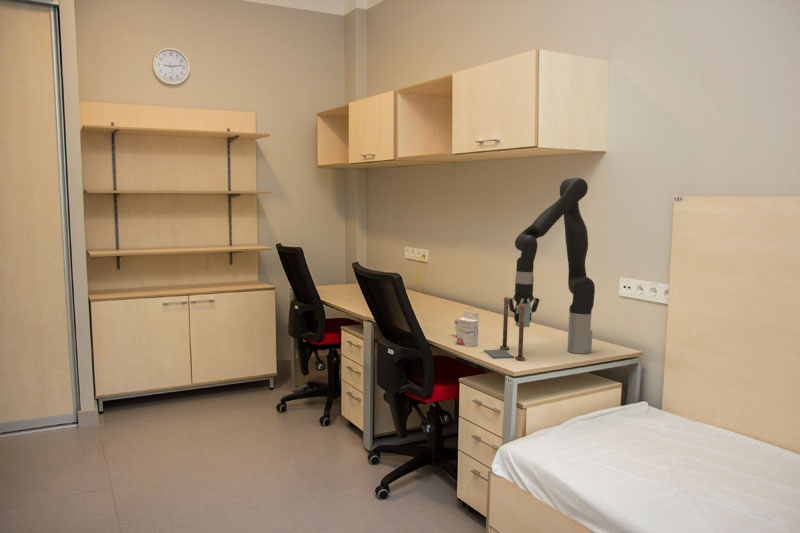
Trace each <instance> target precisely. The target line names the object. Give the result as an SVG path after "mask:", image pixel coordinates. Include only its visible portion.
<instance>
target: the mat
mask: <svg viewBox="0 0 800 533" xmlns="http://www.w3.org/2000/svg"><path fill="white" fill-rule="evenodd" d="M483 352H484V353H485V354H487V355H488V356H489V357H491V358H492V359H515V356H514V355H513V354H511V353H510V352H508V350H504V349H503V350H501V349H483Z"/></svg>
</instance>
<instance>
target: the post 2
mask: <svg viewBox="0 0 800 533" xmlns="http://www.w3.org/2000/svg"><path fill="white" fill-rule="evenodd" d="M519 308H520V319H519V327H518V346H517V347H518V348H517V355H516V356H514V360H515V361H517V362H525V361H526V357H525V356H523V355H524V354H523V353H524V351H523V350H524V348H523V347H524V329H525V327H524V309H525V305H524V304H520V306H519Z"/></svg>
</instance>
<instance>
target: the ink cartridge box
mask: <svg viewBox="0 0 800 533" xmlns="http://www.w3.org/2000/svg"><path fill="white" fill-rule="evenodd" d="M457 319H458V328H457V333H456V344H457V345H461V346H466V347H470V348H472V347H476V346H478V342H479V313H478V312H473V311H465V310H464V311H463V317H460V318H457Z"/></svg>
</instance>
